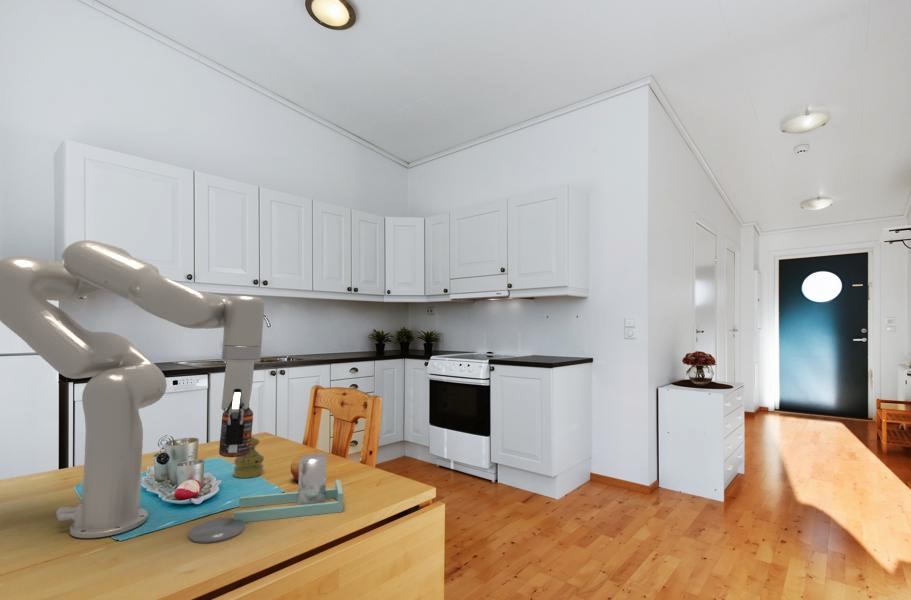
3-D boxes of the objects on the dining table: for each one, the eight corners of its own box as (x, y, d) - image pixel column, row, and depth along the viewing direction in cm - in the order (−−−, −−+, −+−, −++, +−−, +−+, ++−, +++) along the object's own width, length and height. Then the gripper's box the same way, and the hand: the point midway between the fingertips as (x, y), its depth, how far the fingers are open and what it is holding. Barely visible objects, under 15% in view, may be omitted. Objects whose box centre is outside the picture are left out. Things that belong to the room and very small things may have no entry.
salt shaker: (227, 477, 123) (229, 439, 124) (245, 469, 130) (247, 433, 131) (251, 479, 122) (253, 441, 122) (268, 471, 129) (270, 435, 129)
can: (297, 513, 101) (299, 462, 101) (297, 503, 106) (299, 454, 107) (325, 510, 103) (327, 460, 103) (324, 500, 108) (326, 453, 109)
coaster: (182, 546, 85) (182, 543, 85) (194, 524, 94) (194, 521, 94) (241, 539, 88) (241, 536, 88) (247, 518, 98) (247, 515, 98)
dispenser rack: (233, 523, 95) (234, 503, 95) (239, 505, 104) (240, 487, 104) (342, 511, 102) (343, 493, 102) (339, 496, 111) (339, 479, 111)
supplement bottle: (239, 459, 93) (243, 403, 94) (212, 457, 94) (216, 401, 94) (256, 451, 99) (259, 398, 99) (230, 449, 100) (234, 396, 100)
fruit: (333, 471, 125) (322, 449, 122) (313, 494, 119) (301, 471, 116) (313, 466, 129) (302, 444, 126) (293, 488, 124) (280, 465, 120)
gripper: (226, 350, 104) (220, 431, 103) (217, 356, 88) (209, 452, 87) (262, 351, 107) (256, 430, 106) (259, 357, 91) (253, 450, 90)
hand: (235, 439), depth 96 cm, fingers closed on supplement bottle, 6 cm apart
